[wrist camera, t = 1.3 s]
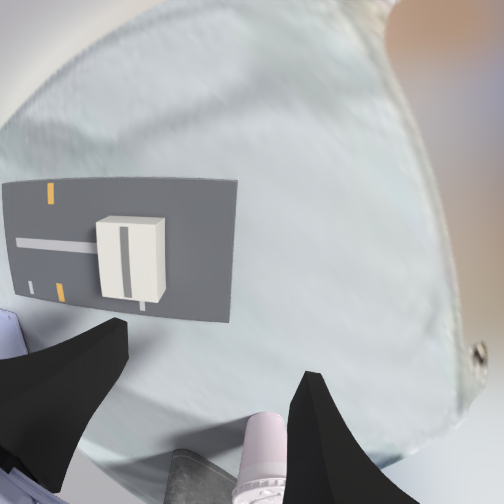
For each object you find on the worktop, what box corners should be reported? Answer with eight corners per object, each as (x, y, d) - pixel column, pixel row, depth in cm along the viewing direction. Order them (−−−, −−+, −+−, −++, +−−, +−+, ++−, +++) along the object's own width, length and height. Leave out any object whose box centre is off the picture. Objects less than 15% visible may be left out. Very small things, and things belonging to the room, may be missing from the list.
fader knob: (114, 284, 20) (101, 297, 18) (109, 215, 19) (95, 222, 16) (165, 289, 20) (157, 303, 18) (164, 217, 19) (155, 225, 17)
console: (24, 288, 22) (15, 294, 21) (12, 181, 19) (1, 183, 18) (229, 313, 23) (228, 323, 21) (237, 180, 20) (237, 181, 19)
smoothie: (223, 430, 27) (216, 548, 14) (252, 395, 26) (256, 531, 12) (275, 445, 28) (286, 553, 15) (308, 412, 27) (335, 533, 13)
